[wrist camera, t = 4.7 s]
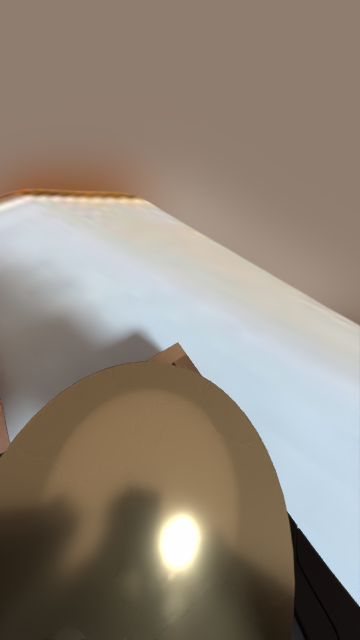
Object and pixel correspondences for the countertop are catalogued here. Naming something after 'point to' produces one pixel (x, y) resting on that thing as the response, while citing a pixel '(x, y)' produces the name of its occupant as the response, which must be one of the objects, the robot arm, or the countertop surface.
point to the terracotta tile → (3, 432)
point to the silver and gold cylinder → (143, 516)
